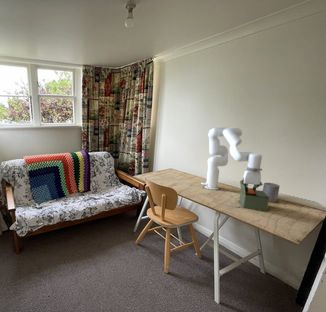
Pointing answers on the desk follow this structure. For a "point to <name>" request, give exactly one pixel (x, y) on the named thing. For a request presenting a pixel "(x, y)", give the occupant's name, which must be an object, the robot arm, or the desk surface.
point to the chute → (254, 200)
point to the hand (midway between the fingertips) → (249, 191)
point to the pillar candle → (271, 191)
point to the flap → (243, 187)
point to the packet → (250, 191)
